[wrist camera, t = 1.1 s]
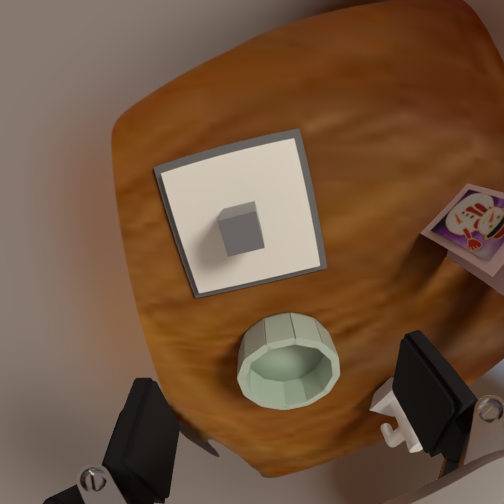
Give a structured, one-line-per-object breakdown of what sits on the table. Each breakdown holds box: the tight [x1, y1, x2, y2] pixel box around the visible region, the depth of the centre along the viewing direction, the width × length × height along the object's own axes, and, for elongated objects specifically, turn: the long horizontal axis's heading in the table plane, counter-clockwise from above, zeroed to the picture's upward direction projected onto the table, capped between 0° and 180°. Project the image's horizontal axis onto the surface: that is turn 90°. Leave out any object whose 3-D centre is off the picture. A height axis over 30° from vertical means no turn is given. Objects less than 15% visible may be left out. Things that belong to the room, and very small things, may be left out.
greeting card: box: [420, 184, 504, 296], centre depth 26 cm, size 11×7×15 cm, turn 133°
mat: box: [153, 129, 327, 298], centre depth 32 cm, size 17×17×1 cm
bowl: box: [237, 312, 340, 410], centre depth 36 cm, size 13×13×6 cm
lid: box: [161, 138, 320, 293], centre depth 29 cm, size 15×15×7 cm
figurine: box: [370, 377, 423, 452], centre depth 36 cm, size 7×9×15 cm
